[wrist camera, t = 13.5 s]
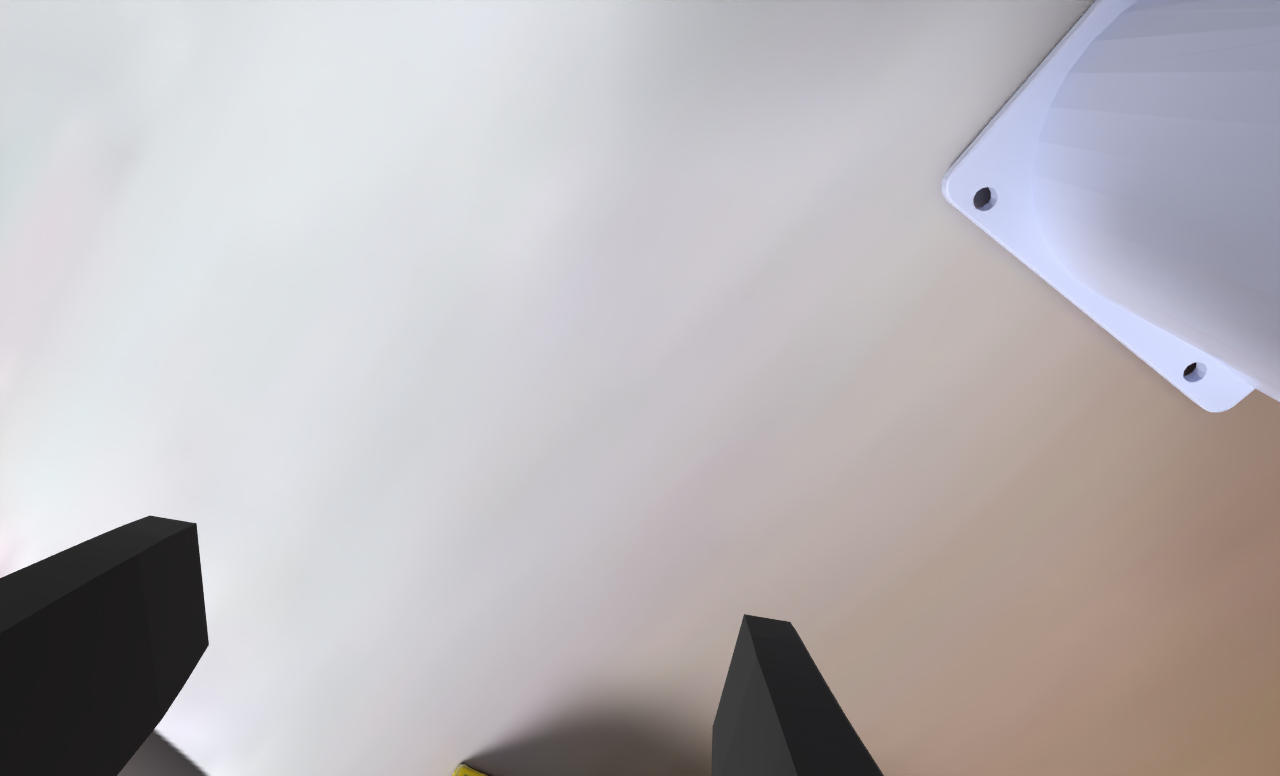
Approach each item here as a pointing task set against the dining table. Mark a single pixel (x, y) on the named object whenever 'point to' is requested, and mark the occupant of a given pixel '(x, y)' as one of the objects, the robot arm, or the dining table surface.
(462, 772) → the candy box
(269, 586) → the dining table surface
